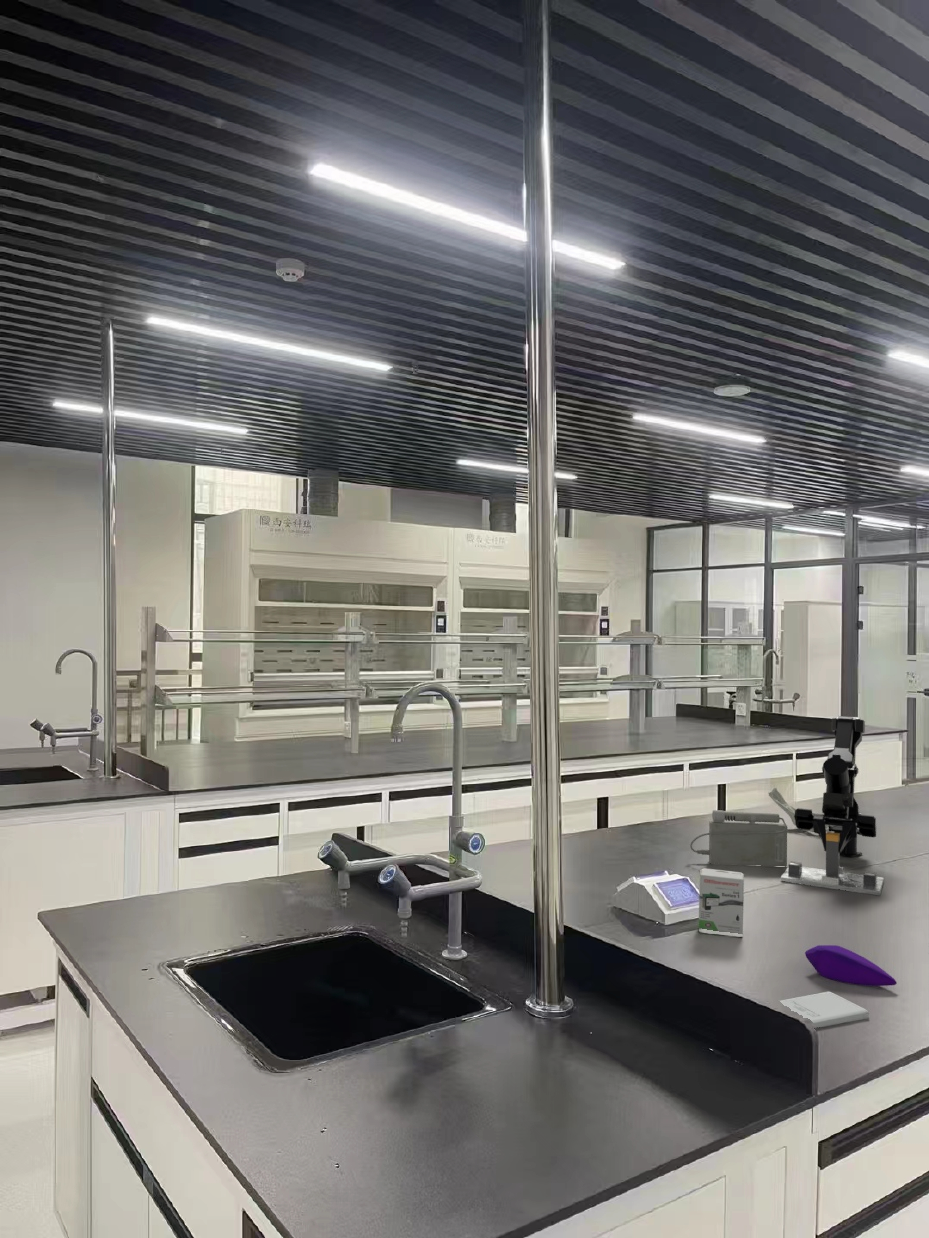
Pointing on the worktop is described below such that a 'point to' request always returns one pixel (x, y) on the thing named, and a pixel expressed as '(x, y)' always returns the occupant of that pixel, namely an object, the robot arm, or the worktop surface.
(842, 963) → the purple teardrop shape
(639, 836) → the worktop surface
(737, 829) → the geiger counter
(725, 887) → the ink box
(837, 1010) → the external hard drive
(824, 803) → the robot arm
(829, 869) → the lever
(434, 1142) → the worktop surface
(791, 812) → the skeletal model
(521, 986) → the worktop surface
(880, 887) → the breaker panel
